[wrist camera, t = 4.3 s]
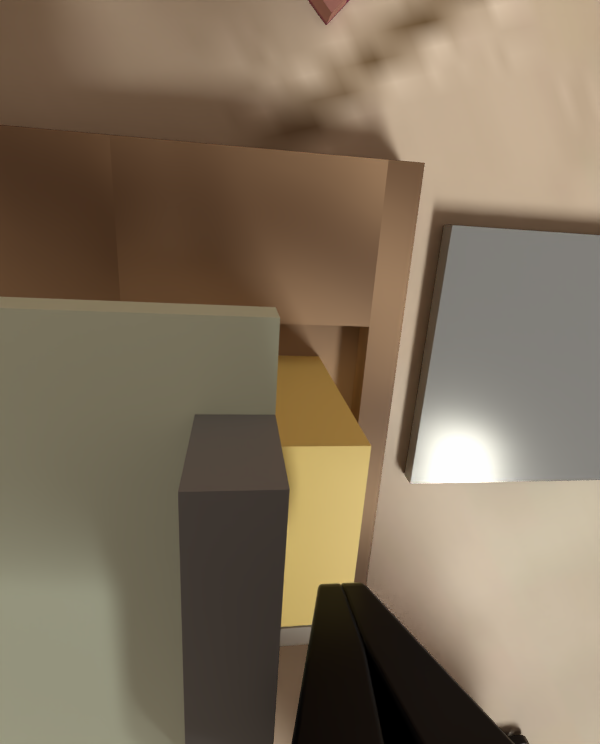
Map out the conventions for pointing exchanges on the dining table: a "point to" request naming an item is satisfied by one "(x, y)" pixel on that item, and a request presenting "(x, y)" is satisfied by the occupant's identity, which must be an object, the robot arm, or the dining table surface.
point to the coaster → (510, 360)
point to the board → (225, 249)
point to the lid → (139, 522)
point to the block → (318, 483)
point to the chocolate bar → (327, 8)
